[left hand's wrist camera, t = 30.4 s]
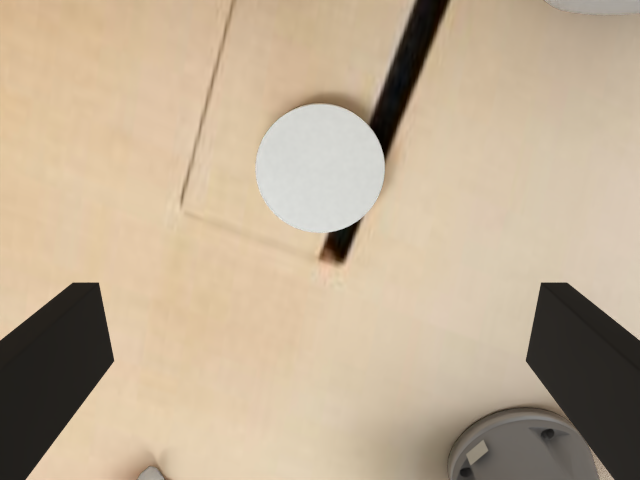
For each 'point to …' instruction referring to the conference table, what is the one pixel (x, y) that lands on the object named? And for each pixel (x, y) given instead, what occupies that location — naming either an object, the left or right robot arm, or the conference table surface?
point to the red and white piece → (151, 474)
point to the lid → (320, 168)
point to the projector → (597, 6)
